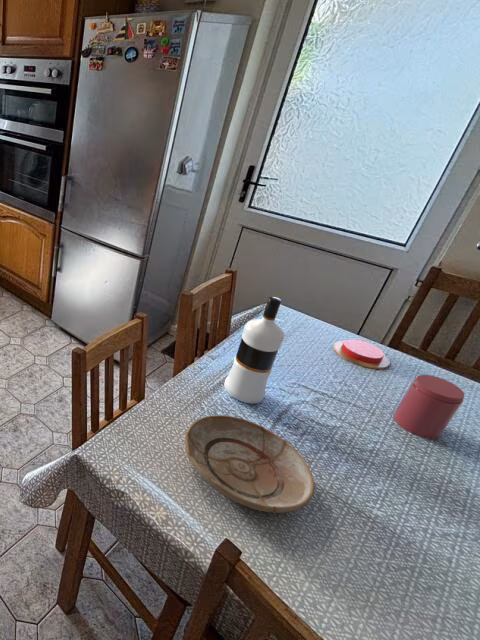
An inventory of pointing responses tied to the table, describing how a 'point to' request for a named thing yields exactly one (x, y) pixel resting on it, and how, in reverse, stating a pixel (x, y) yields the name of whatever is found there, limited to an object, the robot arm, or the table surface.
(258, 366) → the vodka
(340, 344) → the coaster
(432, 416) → the jam jar
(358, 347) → the lid
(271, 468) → the ceramic bowl
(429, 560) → the table surface
